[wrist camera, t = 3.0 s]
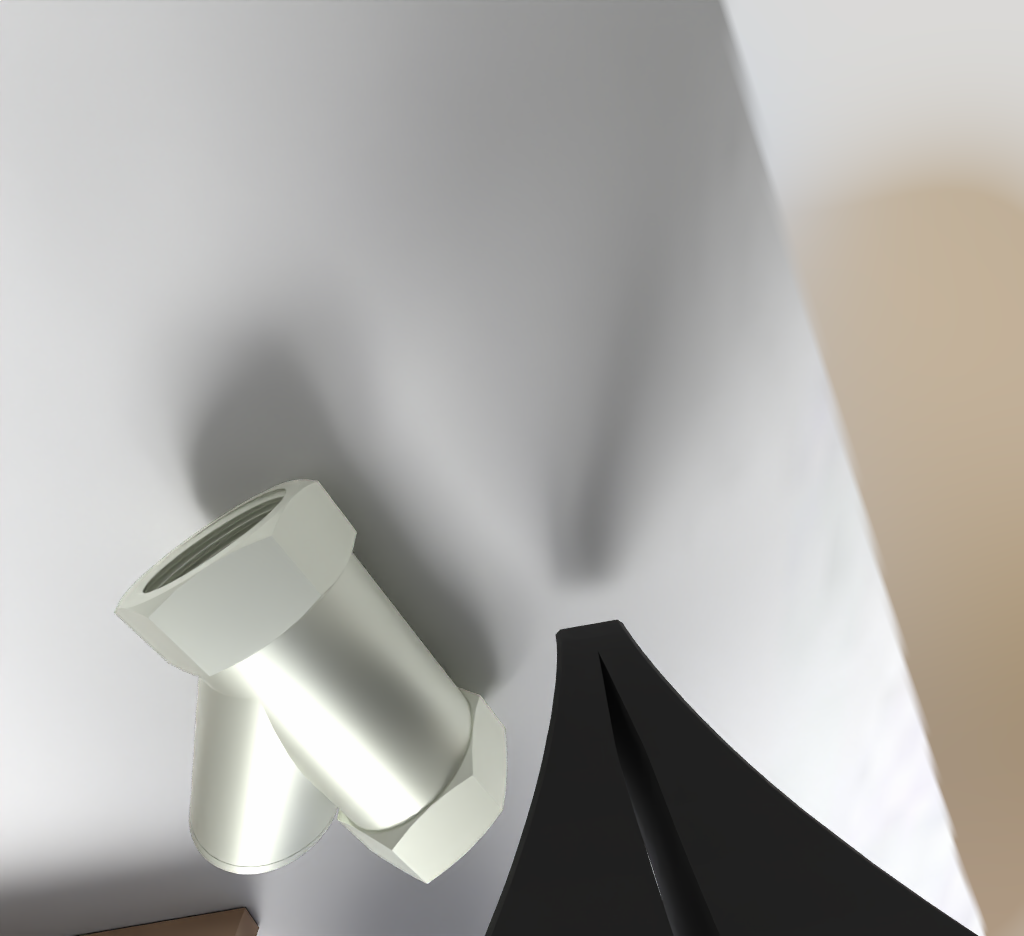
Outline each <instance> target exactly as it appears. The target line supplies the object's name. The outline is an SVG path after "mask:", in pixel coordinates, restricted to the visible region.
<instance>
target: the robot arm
mask: <svg viewBox="0 0 1024 936" xmlns="http://www.w3.org/2000/svg"><path fill="white" fill-rule="evenodd" d="M556 642H557V672H556V684H555V692H554V699H553V706H552V714H551V720H550V726H549V731H548V735H547V740H546V745H545V750H544V755H543V760H542V764H541V768H540V772H539V776H538V780H537V784H536V788H535V792H534V796H533V799H532V803H531V806H530V810H529V813H528V817H527V820H526V823H525V826H524V829H523V833H522V836H521V839H520V842H519V845H518V848H517V851H516V854H515V857H514V860H513V863H512V866H511V869H510V872H509V875H508V878H507V880H506V883H505V886H504V889H503V891H502V894H501V896H500V899H499V902H498V904H497V907H496V909H495V912H494V914H493V917H492V919H491V922H490V924H489V927H488V930H487V932H486V935H485V936H978V935H976V934H975V933H973V932H972V931H970V930H969V929H967V928H966V927H964V926H963V925H961V924H960V923H958V922H957V921H955V920H954V919H952V918H951V917H949V916H948V915H947V914H945V913H944V912H942V911H941V910H939V909H938V908H936V907H935V906H933V905H932V904H930V903H929V902H927V901H926V900H924V899H923V898H921V897H920V896H919V895H917V894H916V893H914V892H913V891H912V890H910V889H909V888H907V887H906V886H904V885H903V884H902V883H900V882H899V881H897V880H896V879H895V878H893V877H892V876H890V875H889V874H888V873H886V872H885V871H883V870H882V869H880V868H879V867H878V866H876V865H875V864H873V863H872V862H871V861H869V860H868V859H867V858H865V857H864V856H863V855H862V854H860V853H859V852H858V851H856V850H855V849H854V848H852V847H851V846H850V845H848V844H847V843H846V842H845V841H843V840H842V839H841V838H839V837H838V836H837V835H835V834H834V833H833V832H831V831H830V830H829V829H828V828H826V827H825V826H824V825H822V824H821V823H820V822H818V821H817V820H816V819H814V818H813V817H812V816H811V815H809V814H808V813H807V812H805V811H804V810H803V809H802V808H800V807H799V806H798V805H797V804H796V803H794V802H793V801H792V800H791V799H790V798H788V797H787V796H786V795H785V794H784V793H782V792H781V791H780V790H779V789H778V788H776V787H775V786H774V785H773V784H772V783H770V782H769V781H768V780H767V779H766V778H765V777H764V776H763V775H761V774H760V773H759V772H758V771H757V770H756V769H755V768H753V767H752V766H751V765H750V764H749V763H748V762H747V761H746V760H744V759H743V758H742V757H741V756H740V755H739V754H738V753H737V752H736V751H735V750H734V749H733V748H732V747H730V746H729V745H728V744H727V743H726V742H725V741H724V740H723V739H722V738H721V737H720V736H719V735H718V734H717V733H716V732H715V731H714V730H713V729H712V728H711V727H710V726H709V725H708V724H707V723H706V722H705V721H704V720H703V719H702V718H701V717H700V716H699V715H698V714H697V713H696V712H695V711H694V710H693V709H692V708H691V706H690V705H689V704H688V703H687V702H686V701H685V700H684V699H683V698H682V697H681V696H680V695H679V693H678V692H677V691H676V690H675V689H674V688H673V687H672V686H671V684H670V683H669V682H668V681H667V680H666V679H665V678H664V677H663V675H662V674H661V673H660V672H659V671H658V670H657V668H656V667H655V666H654V665H653V664H652V662H651V661H650V660H649V659H648V657H647V656H646V655H645V654H644V652H643V651H642V650H641V648H640V647H639V646H638V645H637V643H636V642H635V640H634V639H633V638H632V636H631V635H630V633H629V632H628V631H627V629H626V628H625V626H624V624H623V623H622V622H620V621H618V620H612V621H607V622H601V623H595V624H590V625H584V626H578V627H572V628H567V629H561V630H559V632H558V633H557V634H556ZM645 847H646V848H645ZM646 850H647V851H646ZM647 853H648V854H647ZM648 856H649V857H648ZM649 859H650V860H649ZM650 862H651V864H650ZM651 865H652V867H651ZM652 868H653V870H652ZM653 871H654V873H653ZM654 874H655V876H654ZM655 878H656V879H655ZM656 881H657V883H656ZM657 884H658V886H657ZM658 887H659V889H658ZM659 890H660V892H659ZM660 894H661V895H660ZM661 897H662V898H661Z"/></svg>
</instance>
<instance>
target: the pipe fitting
mask: <svg viewBox="0 0 1024 936" xmlns="http://www.w3.org/2000/svg"><path fill="white" fill-rule="evenodd" d="M356 535H357V531H356V530H355V529H354V527H353V526H352V525H351V523H350V522H349V521H348V519H347V518H346V517H345V516H344V514H343V513H342V512H341V510H340V509H339V508H338V506H337V505H336V504H335V502H334V501H333V500H332V498H331V497H330V496H329V494H328V493H327V492H326V490H325V489H324V488H323V486H322V485H321V484H320V482H319V481H318V480H308V479H298V480H291V481H287V482H284V483H281V484H279V485H276V486H274V487H272V488H270V489H268V490H266V491H264V492H262V493H260V494H258V495H256V496H254V497H252V498H250V499H249V500H247V501H245V502H243V503H242V504H240V505H238V506H237V507H235V508H233V509H232V510H230V511H228V512H227V513H225V514H224V515H222V516H221V517H219V518H217V519H216V520H214V521H213V522H211V523H210V524H208V525H207V526H205V527H204V528H202V529H201V530H200V531H198V532H197V533H195V534H194V535H192V536H191V537H190V538H188V539H187V540H186V541H184V542H183V543H181V544H180V545H179V546H177V547H176V548H175V549H174V550H172V551H171V552H170V553H168V554H167V555H166V556H165V557H163V558H162V559H161V560H160V561H158V562H157V563H156V564H155V565H154V566H152V567H151V568H150V569H149V570H148V571H147V572H146V573H144V574H143V575H142V576H141V577H140V578H139V579H138V580H137V581H136V582H135V583H134V584H133V585H132V586H131V587H130V588H129V589H128V590H127V592H126V593H125V594H124V595H123V597H122V598H121V600H120V602H119V604H118V606H117V607H116V609H115V611H114V613H115V614H116V615H117V616H118V617H119V618H120V619H121V620H122V621H124V622H125V623H126V624H127V625H128V626H129V627H130V628H131V629H132V630H133V631H134V632H135V633H136V634H138V635H139V636H140V637H141V638H142V639H143V640H144V641H145V642H146V643H147V644H148V645H149V646H150V647H152V648H153V649H154V650H155V651H156V652H157V653H158V654H159V655H160V656H161V657H162V658H163V659H164V660H166V661H167V662H168V663H169V664H171V665H173V666H174V667H176V668H178V669H180V670H182V671H184V672H187V673H189V674H192V675H194V676H199V679H198V693H197V707H196V721H195V736H194V752H193V768H192V785H191V801H190V811H189V825H190V832H191V836H192V839H193V841H194V844H195V846H196V847H197V849H198V851H199V852H200V853H201V855H202V856H203V857H204V858H205V859H206V860H207V861H209V862H210V863H211V864H212V865H214V866H216V867H218V868H219V869H222V870H225V871H227V872H231V873H236V874H260V873H265V872H269V871H272V870H276V869H278V868H281V867H283V866H285V865H287V864H289V863H291V862H293V861H295V860H296V859H298V858H299V857H301V856H302V855H304V854H305V853H306V852H307V851H309V850H310V849H311V848H312V847H313V846H314V845H315V844H316V843H317V842H318V841H319V840H320V838H321V837H322V836H323V835H324V833H325V832H326V831H327V829H328V828H329V826H330V824H331V823H332V821H333V819H334V816H335V814H336V812H337V809H338V808H339V812H338V818H337V820H338V821H339V822H340V823H341V824H342V825H343V826H345V827H346V828H347V829H348V830H349V831H350V832H351V833H352V834H353V835H354V836H355V837H356V838H357V839H359V840H360V841H361V842H362V843H363V844H364V845H365V846H366V847H367V848H368V849H369V850H370V851H372V852H373V853H375V854H376V855H378V856H379V857H381V858H382V859H384V860H386V861H387V862H389V863H390V864H392V865H394V866H395V867H397V868H399V869H400V870H402V871H404V872H405V873H407V874H409V875H411V876H412V877H414V878H416V879H418V880H420V881H422V882H424V883H426V884H428V883H430V882H431V881H432V880H434V879H435V878H437V877H438V876H439V875H441V874H442V873H443V872H445V871H446V870H447V869H449V868H450V867H451V866H452V865H453V864H455V863H456V862H457V861H458V860H459V859H460V858H461V857H462V856H464V855H465V854H466V853H467V852H468V851H469V850H470V849H471V848H472V847H473V846H474V845H475V844H476V843H477V842H478V841H479V839H480V838H481V837H482V836H483V835H484V834H485V833H486V832H487V831H488V829H489V828H490V827H491V825H492V824H493V823H494V822H495V820H496V819H497V818H498V816H499V815H500V814H501V812H502V811H503V806H504V799H505V792H506V779H507V746H506V733H505V727H504V726H503V725H502V723H501V722H500V721H499V719H498V718H497V717H496V715H495V714H494V713H493V711H492V710H491V709H490V707H489V706H488V705H487V703H486V702H485V701H484V699H483V698H482V697H481V695H480V694H477V693H474V692H471V691H468V690H465V689H462V688H458V687H457V686H456V685H455V684H454V682H453V681H452V680H451V679H450V677H449V676H448V675H447V673H446V672H445V671H444V670H443V668H442V667H441V666H440V664H439V663H438V662H437V661H436V659H435V658H434V657H433V655H432V654H431V653H430V652H429V650H428V649H427V648H426V646H425V645H424V644H423V643H422V641H421V640H420V639H419V637H418V636H417V635H416V634H415V632H414V631H413V630H412V628H411V627H410V626H409V625H408V623H407V622H406V621H405V619H404V618H403V617H402V616H401V614H400V613H399V612H398V610H397V609H396V608H395V606H394V605H393V604H392V603H391V601H390V600H389V599H388V597H387V596H386V595H385V594H384V592H383V591H382V590H381V588H380V587H379V586H378V585H377V583H376V582H375V581H374V579H373V578H372V577H371V575H370V574H369V573H368V572H367V570H366V569H365V568H364V566H363V565H362V564H361V563H360V561H359V560H358V559H357V557H356V556H355V555H354V554H353V552H352V551H353V547H354V543H355V539H356Z"/></svg>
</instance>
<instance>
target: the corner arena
mask: <svg viewBox="0 0 1024 936" xmlns="http://www.w3.org/2000/svg"><path fill="white" fill-rule="evenodd" d="M258 929H259V927H258V926H257V924H256V923H255V921H254V920H253V918H252V917H251V915H250V914H249V912H248V911H247V909H246V908H240V909H234V910H228V911H222V912H216V913H210V914H205V915H199V916H193V917H187V918H181V919H175V920H169V921H164V922H158V923H152V924H146V925H140V926H134V927H128V928H122V929H117V930H111V931H105V932H99V933H93V934H87V935H81V936H256V935H257V932H258Z"/></svg>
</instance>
